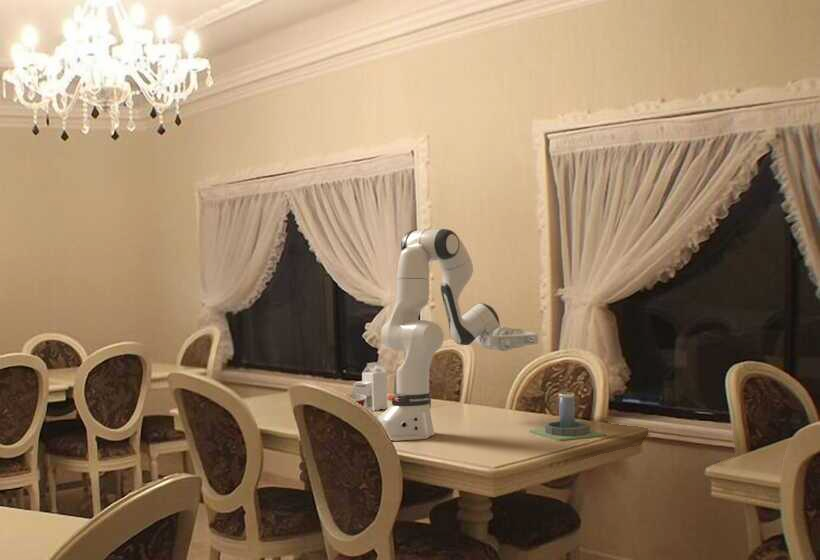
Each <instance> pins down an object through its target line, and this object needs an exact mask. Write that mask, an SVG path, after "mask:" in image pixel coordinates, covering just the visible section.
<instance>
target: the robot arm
mask: <svg viewBox="0 0 820 560" xmlns="http://www.w3.org/2000/svg"><path fill="white" fill-rule="evenodd" d="M400 250H401V252H400V254H399V259H398V263H397V265H398V266H397V274H396V291H395V292H396V293H395V294H396V296H395V297H396V298H395V303H394V307H393V310H392V313H391V315H390V317H389V319H388V320H387V322H385V323H384V324H383V326H382V328H381V331H380V338H381V339H380V340H381V342H382V344H383V345H384V346H385V347H386V348H388V349H390V350H392V351H397V352H404V353H405V357H404V360H403V363H402V364H401V365H399V367H398V368H397V370H396V372H395V374H396V375H395V376H396V393H395V394H388V393H387V397H386V398H387V401H390V402H391V405H390V406H389V407H387V409H384V410H385V411H383V412H382V413H381V414H380V415H379V416H377V418H378V420H379V421H380V422H381V423H382V425H383V426H384V427H385V429H386V430H387V432H388V434H389V435H390V437H391V439H392V440H393V441H392V442H395V441H396V442H397V441H398V442H400V441H411V440H427V439H429V437H431V436H434V435H435V434H436V433H435V430H434V426H433V420H432V414H431V407H432V400H431V399H432V397H431V392H430V368H431V365H432V361H433V358H434V356H435V354H436V353H437V352H438V350H439V349H441V347H442V346H443V343H444V339H445V338H444V337H445V336H444V330H443V328H442V327H441V325H439V323H435V322H433V321H430V320H427V319H426V320H425V319H419V316H420V314H421V311H422V310H423V308H424V307H426V306H427V305H428V303H429V300H430V264H429V263H430V262H432V261H437V262H438V264H439V266H440V269H441V272H442V282H441V285H440V292H441V293H440V294H441V297H442V301H443V305H444V308H445V312H446V317H447V320H448V328H449V334H450V337H451V338H452V340H453V341H454V342H455V343H456V344H457V345H460V346H469V345H471V344H472V343H473V342H474V343H476V344H477V345H478V346H479V347H481V348H483V349H487V350H493V351H494V350H495V351H498V352H500V351H501V352H507V351H510V350H513V349H517V348H523V347H525V346H532V345H538V343H539V335H538V334H537V333H535V332H531V331H526V330H525V329H523V328H522V329H521V328H512V327H508V326H507V327H506V326H500V319H499V315H498V313H497V312H496V310H495V309H494V308H493V307H492V306H490V305H488V304H486V303H482V302H479V303H477V304H476V305H474V306H473V307H472V308H471V309H469V310H468V311H467V312H466V313H464V314H463V315H462V312H461V309H460V304H459V299H460V296H461V293H462V291H463V289H464V288H465V287H466V286H467V284H468V282H469V281H470V279H471V278H472V275H473V272H474V265H473V262H472V259H471V257H470V254H469V252H468V250H467V248H466V246H465V245H464V243H463V241H462V240H461V238H460V237H459V236H458V235H457V234H456V232H454V231H453V230H451V229H448V228H441V229H438V228H422V229H413V230H409V231H407V232H406V233H404V235H403V236H402V239H401V242H400Z"/></svg>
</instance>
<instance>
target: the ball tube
mask: <svg viewBox="0 0 820 560" xmlns="http://www.w3.org/2000/svg"><path fill="white" fill-rule="evenodd" d="M558 407H559V408H558V410H559V411H558V413H559V414H558V416H559V417H558V418H559V421H560V428H575V421H576V420H575V417H576V416H575V415H576V414H575V393H574V392H572V391H561V392H558Z"/></svg>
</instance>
